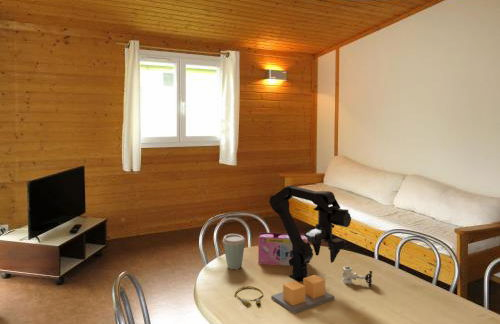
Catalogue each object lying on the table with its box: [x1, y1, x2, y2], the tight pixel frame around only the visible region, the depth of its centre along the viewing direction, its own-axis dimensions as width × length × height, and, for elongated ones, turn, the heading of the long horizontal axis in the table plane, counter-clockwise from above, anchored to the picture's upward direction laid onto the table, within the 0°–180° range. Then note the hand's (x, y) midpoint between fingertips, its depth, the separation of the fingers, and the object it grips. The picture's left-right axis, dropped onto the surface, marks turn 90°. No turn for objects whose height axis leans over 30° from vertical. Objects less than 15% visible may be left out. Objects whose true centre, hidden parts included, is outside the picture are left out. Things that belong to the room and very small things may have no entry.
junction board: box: [270, 274, 335, 314], centre depth 155 cm, size 14×20×7 cm
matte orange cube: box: [282, 280, 306, 305], centre depth 151 cm, size 6×6×6 cm
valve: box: [342, 265, 373, 287], centre depth 168 cm, size 7×7×12 cm
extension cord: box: [234, 286, 264, 307], centre depth 157 cm, size 12×16×2 cm
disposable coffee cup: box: [222, 233, 246, 270], centre depth 186 cm, size 11×11×15 cm
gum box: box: [257, 231, 308, 267], centre depth 192 cm, size 24×8×14 cm, turn 79°
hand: (324, 258), depth 165 cm, fingers open, 9 cm apart
